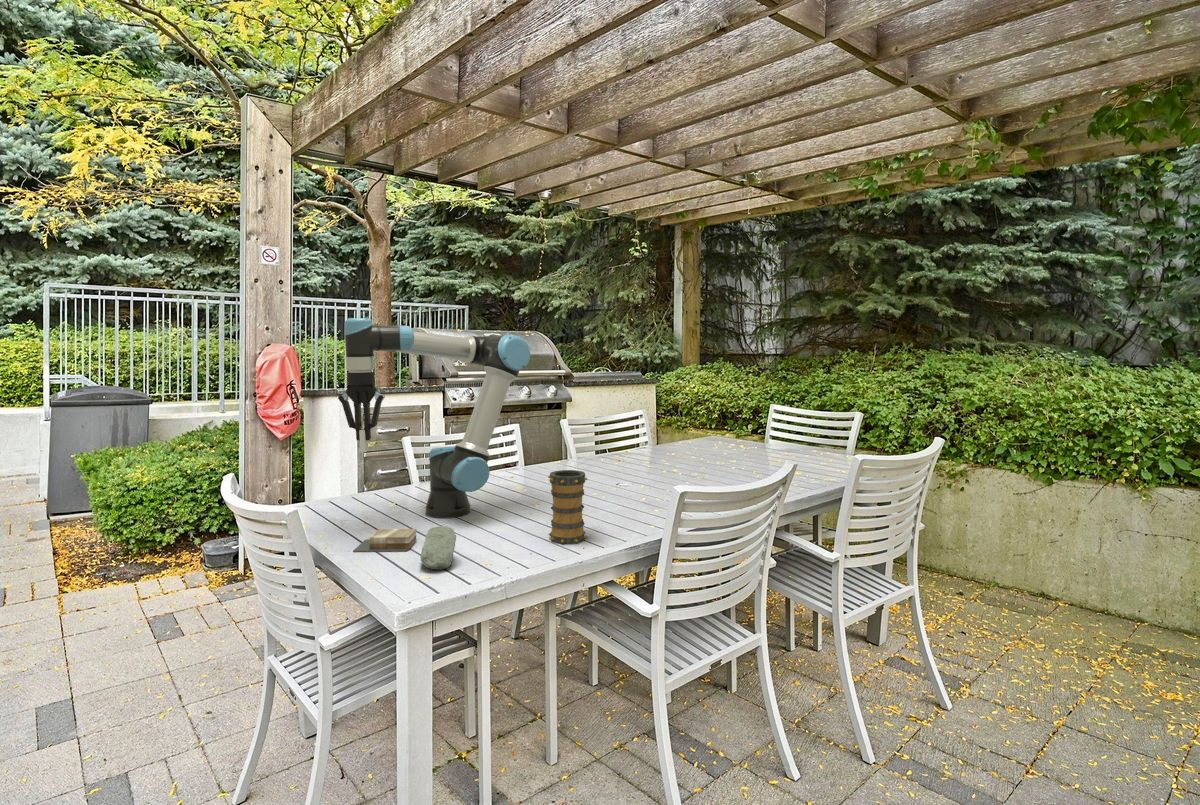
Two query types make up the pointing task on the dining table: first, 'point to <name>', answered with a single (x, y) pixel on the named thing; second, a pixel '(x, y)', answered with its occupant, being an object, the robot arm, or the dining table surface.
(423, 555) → the decorative stone
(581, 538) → the mug
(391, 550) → the mat
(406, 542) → the slab
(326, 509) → the dining table surface
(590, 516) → the dining table surface
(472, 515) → the dining table surface
